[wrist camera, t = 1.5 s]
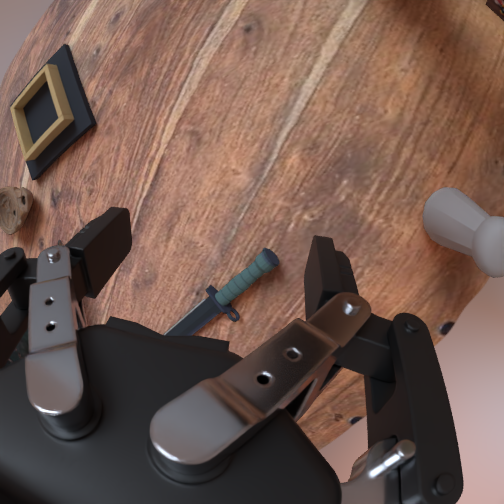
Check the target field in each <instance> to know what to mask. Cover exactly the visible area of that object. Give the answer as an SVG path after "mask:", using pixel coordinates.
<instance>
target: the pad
mask: <svg viewBox="0 0 504 504" xmlns="http://www.w3.org/2000/svg"><path fill="white" fill-rule="evenodd" d="M10 109H11V113H12V117H13V121H14V125H15V129H16V132H17V136H18V140H19V143H20V146H21V150H22V153H23V156H24V159H25V161H26V163H27V166H28V169H29V172H30V175H31V178H32V180H36V179H38V178H39V177H40V176H41V175H42V174H43V173H44V172H45V171H46V170H47V169H48V168H49V167H50V166H51V165H52V164H53V163H54V162H55V161H56V160H57V159H58V158H59V157H60V156H61V155H62V154H63V153H64V152H65V151H66V150H67V149H68V148H69V147H70V146H71V145H73V144H74V143H75V142H76V141H77V140H78V139H79V138H80V137H81V136H83V135H84V134H85V133H86V132H87V131H88V130H90V129H91V128H92V127H93V126H94V125H96V122H95V119H94V116H93V114H92V111H91V109H90V106H89V103H88V101H87V98H86V95H85V92H84V90H83V87H82V84H81V81H80V78H79V75H78V72H77V69H76V66H75V63H74V60H73V57H72V54H71V51H70V48H69V45H66V44H64V45H63V46H62V47H61V48H60V49H59V50H58V51H57V52H56V53H55V54H54V55H53V56H52V57H51V58H50V59H49V60H48V61H47V62H46V64H45V65H44V66H43V67H42V68H41V69H40V70H39V71H38V72H37V74H36V75H35V76H34V77H33V78H32V79H31V81H30V82H29V83H28V84H27V85H26V87H25V88H24V89H23V90H22V91H21V93H20V94H19V95H18V97H17V98H16V99H15V100H14V102H13V103H12V104H11V107H10Z"/></svg>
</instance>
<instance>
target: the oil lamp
mask: <svg viewBox="0 0 504 504" xmlns="http://www.w3.org/2000/svg"><path fill="white" fill-rule="evenodd" d="M32 203H33V195H32V193H31V192H30V191H29V190H27V189H26V188H24V187H22V188H21V190H20V189H18V188H16V187H10V186H7V187H3V188H1V189H0V227H1V229H2V230H3V231H4V232H5V233H7V234H9V235H12V234H14V233H16V232H17V231H18V230H19V229H20V228H21V227H22V226H23V224H24V222H25V220H26V218H27V215H28V212H29V210H30V208H31V205H32Z"/></svg>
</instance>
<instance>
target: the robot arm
mask: <svg viewBox="0 0 504 504" xmlns="http://www.w3.org/2000/svg"><path fill="white" fill-rule="evenodd" d="M131 246H132V235H131V224H130V213H129V210H128V209H127V208H119V207H111V208H109V209H108V210H107V211H106V212H105V213H104V214H103V215H102V216H100V217H98V218H96V219H94V220H92V221H90V222H89V223H88V224H87V225H86V226H85V228H83V229H82V230H80V232H78V233H77V234H76V235H75V236H74V237H73V238H72V239H71V240H70V241H69V242H68V243H67V244H66V245H65V246H62V245H56V246H52V247H49V248H47V249H45V250H43V251H42V252H41V253H40V254H39V256H38V258H29V259H26V256H25V253H24V250H23V249H22V248H20V247H14V248H10V249H7V250H6V251H4V252H2V253H1V254H0V297H1V296H2V295H3V294H4V293H5V291H6V290H8V292H9V294H10V297H11V299H12V302H11V303H10V304H9V306H8V307H7V308H6V309H5V311H4V312H3V313H2V315H1V316H0V504H456V502H457V501H458V500H459V498H460V497H461V494H462V491H463V474H462V467H461V461H460V454H459V447H458V442H457V436H456V431H455V426H454V421H453V416H452V412H451V408H450V403H449V399H448V395H447V391H446V387H445V383H444V379H443V376H442V372H441V368H440V365H439V362H438V358H437V355H436V352H435V348H434V345H433V342H432V339H431V336H430V333H429V330H428V327H427V326H426V324H425V323H424V322H423V321H422V320H421V319H420V318H419V317H417V316H415V315H413V314H410V313H400V314H397V315H396V316H395V317H394V319H393V321H390V320H387V319H384V318H382V317H379V316H376V315H374V314H373V313H371V306H370V304H369V303H368V302H367V301H366V300H365V299H364V298H363V297H361V296H359V293H358V289H357V285H356V282H355V278H354V275H353V271H352V269H351V264H350V260H349V259H348V257H347V256H346V255H345V254H344V253H343V252H341V251H335V248H334V243H333V239H332V238H328V237H322V236H316V235H314V237H313V240H312V244H311V248H310V252H309V256H308V260H307V264H306V269H305V275H304V289H305V311H306V321H303V320H302V319H300V318H297V319H295V320H293V321H292V322H291V323H289V324H288V325H287V326H286V327H284V328H283V329H282V330H280V331H279V332H278V333H277V334H275V335H274V336H273V337H271V338H270V339H269V340H267V341H266V342H265V343H264V344H262V345H261V346H260V347H258V348H257V349H256V350H254V351H253V352H252V353H250V354H249V355H248V356H246V357H245V358H242V357H241V356H239V355H237V354H235V353H233V352H230V351H229V341H224V340H218V339H213V338H207V337H202V336H165V335H161V334H159V333H157V332H155V331H153V330H151V329H149V328H147V327H145V326H142V325H140V324H138V323H136V322H132V321H128V320H124V319H120V318H116V317H112V316H110V318H109V320H108V321H107V323H106V324H100V325H92V326H88V325H87V320H86V314H85V309H84V304H83V300H82V299H83V297H84V296H86V297H90V298H94V299H95V298H96V297H97V295H98V294H99V293H100V291H101V290H102V288H103V287H104V286H105V284H106V283H107V281H108V280H109V279H110V277H111V276H112V275H113V273H114V272H115V271H116V269H117V268H118V267H119V265H120V264H121V263H122V261H123V260H124V259H125V257H126V256H127V255H128V254H129V252H130V250H131ZM27 329H28V340H29V352H28V354H26V356H25V357H23V358H21V359H19V360H17V361H15V362H13V363H11V364H9V365H7V366H5V364H6V363H7V361H8V359H9V358H10V356H11V354H12V353H13V351H14V350H15V348H16V346H17V345H18V343H19V342H20V340H21V338H22V337H23V335H24V334H25V332H26V331H27ZM4 366H5V367H4ZM343 367H344V368H346V369H349V370H352V371H355V372H358V373H360V374H363V375H364V383H365V395H366V410H367V430H368V450H367V451H366V452H365V453H364V454H363V455H361V456H360V457H359V458H358V459H357V460H356V461H355V463H354V464H353V467H352V472H351V476H350V479H349V480H348V482H345V483H340V481H339V479H338V477H337V475H336V473H335V471H334V470H333V468H332V467H331V466H330V465H329V463H328V462H327V461H326V460H325V458H324V457H323V456H322V455H321V453H320V452H319V451H318V450H317V448H316V447H315V446H314V445H313V443H312V442H311V441H310V440H309V438H308V437H307V436H306V434H305V433H304V432H303V431H302V429H301V428H300V427H299V425H298V424H297V423H296V422H297V421H298V420H299V419H300V418H301V417H302V416H303V415H304V413H305V412H306V411H307V410H308V409H309V407H310V406H311V404H312V403H313V402H314V400H315V399H316V398H317V397H318V396H319V395H320V394H321V393H322V391H323V390H324V389H325V388H326V387H327V386H328V385H329V384H330V382H331V381H332V380H333V379H334V378H335V377H336V376H337V374H338V373H339V372H340V371H341V370H342V369H343Z"/></svg>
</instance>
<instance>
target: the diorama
mask: <svg viewBox="0 0 504 504" xmlns="http://www.w3.org/2000/svg"><path fill="white" fill-rule="evenodd" d="M486 5H487V6H488V7H489V8H490V9H491V10H492V11H494V12H495V13H496V14H497V15H498V16H499V17H500V18H501V19H502V20H503V21H504V0H487V2H486Z"/></svg>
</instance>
